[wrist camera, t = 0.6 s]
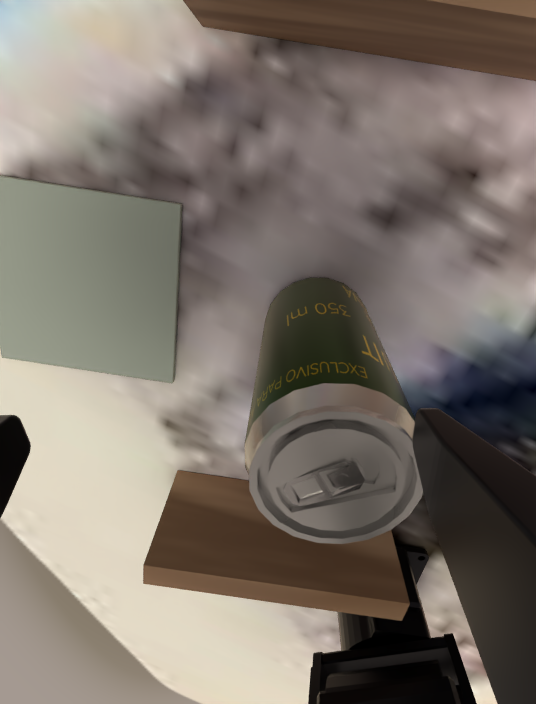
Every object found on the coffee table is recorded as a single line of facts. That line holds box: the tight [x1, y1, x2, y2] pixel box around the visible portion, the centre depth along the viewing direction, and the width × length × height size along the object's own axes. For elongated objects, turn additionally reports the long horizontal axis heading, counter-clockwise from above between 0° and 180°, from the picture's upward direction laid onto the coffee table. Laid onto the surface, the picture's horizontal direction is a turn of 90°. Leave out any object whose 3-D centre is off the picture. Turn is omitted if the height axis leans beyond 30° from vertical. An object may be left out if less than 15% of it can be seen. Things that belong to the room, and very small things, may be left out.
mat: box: [0, 175, 182, 383], centre depth 22 cm, size 10×10×1 cm
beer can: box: [245, 278, 423, 544], centre depth 17 cm, size 5×5×12 cm
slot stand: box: [143, 0, 536, 621], centre depth 19 cm, size 27×14×7 cm, turn 172°
